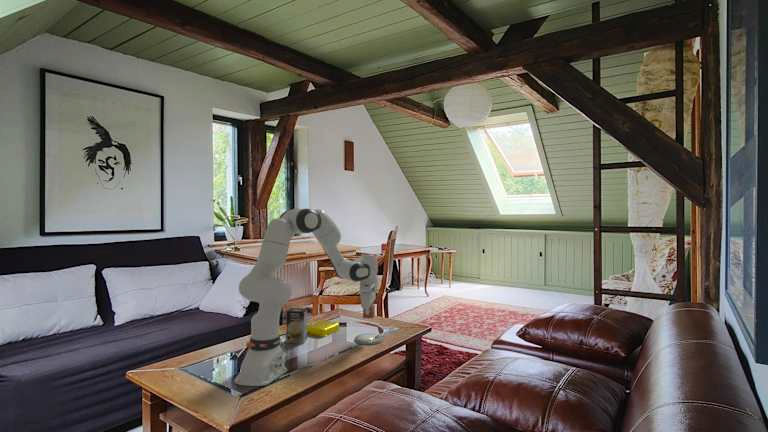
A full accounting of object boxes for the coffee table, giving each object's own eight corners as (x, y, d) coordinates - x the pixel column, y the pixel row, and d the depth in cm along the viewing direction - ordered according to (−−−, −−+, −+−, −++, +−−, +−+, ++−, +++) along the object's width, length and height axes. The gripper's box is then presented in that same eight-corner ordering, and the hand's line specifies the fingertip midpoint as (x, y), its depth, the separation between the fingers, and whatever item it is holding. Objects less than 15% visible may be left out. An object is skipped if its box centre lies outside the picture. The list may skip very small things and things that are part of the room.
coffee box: (285, 343, 207) (285, 311, 206) (289, 339, 213) (289, 307, 213) (303, 344, 206) (303, 311, 205) (307, 339, 212) (307, 308, 212)
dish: (380, 345, 204) (380, 343, 204) (352, 343, 206) (352, 341, 206) (384, 336, 218) (384, 334, 218) (358, 334, 220) (358, 332, 220)
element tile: (323, 338, 216) (323, 329, 216) (300, 333, 223) (300, 324, 223) (340, 330, 229) (340, 321, 229) (318, 326, 236) (318, 317, 236)
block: (372, 318, 209) (372, 306, 209) (363, 317, 210) (363, 306, 209) (374, 315, 214) (374, 303, 214) (365, 315, 215) (365, 303, 214)
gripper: (366, 281, 222) (366, 307, 222) (358, 289, 202) (358, 317, 202) (378, 281, 221) (378, 307, 221) (371, 289, 201) (371, 318, 201)
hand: (368, 312), depth 212 cm, fingers closed on block, 5 cm apart
